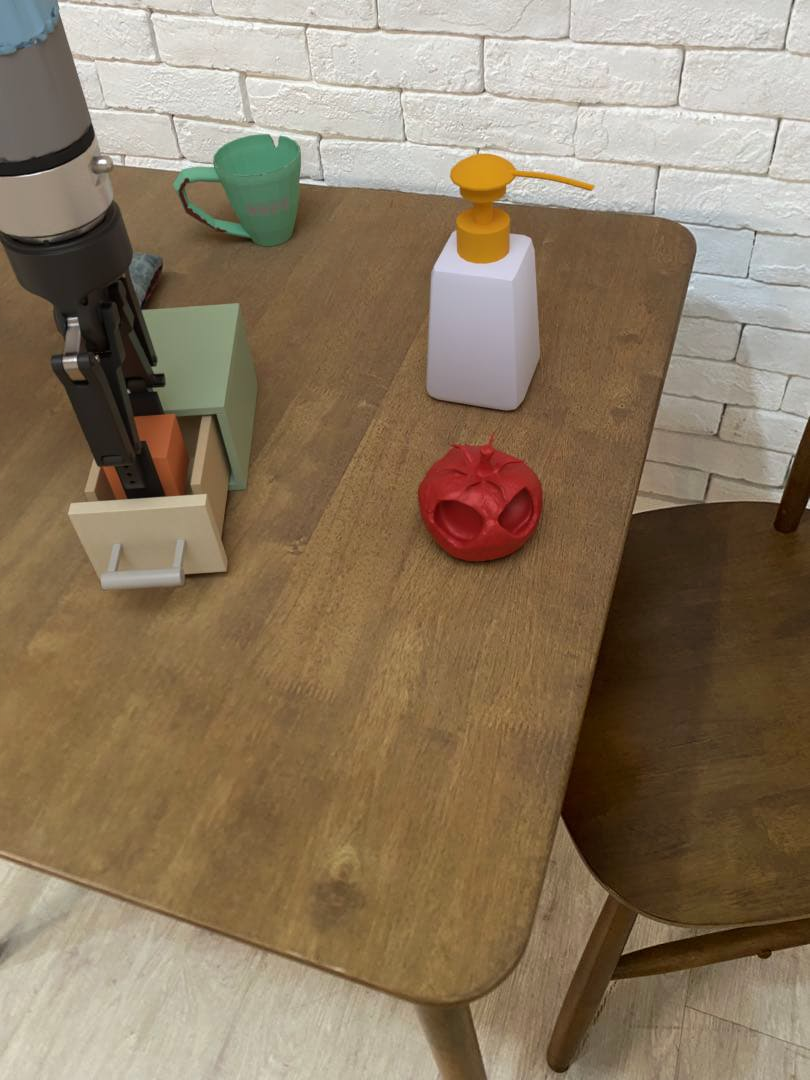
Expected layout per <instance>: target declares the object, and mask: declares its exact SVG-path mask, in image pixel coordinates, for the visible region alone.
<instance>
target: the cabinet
mask: <svg viewBox="0 0 810 1080" xmlns="http://www.w3.org/2000/svg"><path fill="white" fill-rule="evenodd" d="M141 311H142V314H143V317H144V320H145V323H146V326H147V329H148V332H149V335H150V338H151V341H152V344H153V347H154V350H155V353H156V356H157V359H158V363H157V366H156V367H151V368H152V370H153V372H154V374H159V373H164V375H165V380H166V384H165V387H159V388H153V391H157V393H158V396H159V399H160V402H161V405H162V408H163V411H164V414H175V416H176V417H180V416H195V415H209V414H217V418H218V422H219V425H220V429H221V432H222V436H223V440H224V443H225V447H226V450H227V454H228V457H229V461H230V465H231V469H230V476H229V484H228V491H229V492H230V491H242V490H243V491H244V490H247V486H248V477H249V468H250V460H251V450H252V442H253V435H254V425H255V418H256V417H255V416H256V408H257V399H258V390H259V383H258V377H257V374H256V369H255V365H254V360H253V355H252V352H251V351H252V350H251V348H250V343H249V338H248V335H247V334H248V333H247V330H246V326H245V321H244V317H243V312H242V309H241V304H240V303H239V302H235V303H233V302H232V303H221V304H219V303H218V304H207V305H206V304H205V305H193V306H181V307H167V308H166V307H165V308H152V309H144V310H141ZM127 392H128V393H130V391H129V390H127ZM228 491H227V492H228Z"/></svg>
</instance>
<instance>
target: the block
mask: <svg viewBox="0 0 810 1080" xmlns="http://www.w3.org/2000/svg"><path fill="white" fill-rule="evenodd" d="M134 419H135V423H136V427H137V431H138V435H139V439H140V441H146V443H147V445H148V448H149V451H150V454H151V456H152V459H153V462H154V465H155V468H156V470H157V473H158V476H159V479H160V481H161V484H162V487H163V490H164V492H165V495H166V497H169V496H183V494H184V489H185V483H186V478H187V472H188V466H189V461H190V459H189V456H188V453H187V450H186V447H185V444H184V441H183V438H182V434H181V431H180V428H179V425H178V422H177V419H176V416H175V414H165V415H151V416H136V417H134ZM103 469H104V471H105V473H106V476H107V478H108V481H109V483H110V485H111V488H112V490H113V493H114V495H115V497H116V500H124V499H127V496H126V494H125V491H124V489H123V487H122V484H121V482H120V479H119V477H118V474H117V472H116V469H115V467H114V466H109V467H103Z"/></svg>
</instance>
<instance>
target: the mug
mask: <svg viewBox="0 0 810 1080" xmlns="http://www.w3.org/2000/svg"><path fill="white" fill-rule="evenodd" d="M212 164H213V165H212V166H193V167H192V166H191V167H187V168H182V169H181V170H180V172H179V174H178V176H177V177H176V179H175V180H174V182H173V185H172V186H173V188H174V190H175V192H176V194H177V197H178V199H179V201H180V203H181V206H182V208H183V211H184V213H185V214H187V215H188V216H190V217H191V218H193V219H195V220H196V221H198V222H200V223H201V224H203V225H204V226H205V227H207V228H208V229H210V230H212V231H214V232H215V233H220V234H225V235H231V236H236V237H241V238H246V239H251V240H252V242H253V243H254V244H256V245H258V246H262V247H275V246H279V245H282V244H285V243H286V242H287V241H289V240H290V239H291V237H292V236H293V233H294V228H295V223H296V220H297V214H298V207H299V201H300V181H301V172H302V171H301V169H302V150H301V146H300V145H299V143H298V142H297V141H296V140H294V139H292V138H291V137H288V136H286V135H279V136H278V139H277V146H276V144H275V143H274V139H273V137H272V136H271V135H270V133H259V134H250V135H246V136H243V137H238V138H236V139H234V140H231V141H228V142H226V143H225V144H224V145H222V146H220V147H219V148H218V149H217V150H216V152H215V153H214V154H213V158H212ZM197 182H205V183H219V184H221V186H222V187H223V190H224V192H225V195H226V197H227V199H228V202H229V205H230V206H231V209H232V211H234V213H235V215H236V217H237V219H238V220H239V222H240V223H238V222H232V221H227V220H222V219H217V218H214V217H213V216H211V215H210V214H209V213H207V212H205V210H203V209H201V208H200V207H199V206H197V205H195V204H194V203H193V202H191V200H189V198H188V195H187V190H186V186H187V185H189V184H193V183H197Z"/></svg>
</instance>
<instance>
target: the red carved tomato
mask: <svg viewBox="0 0 810 1080" xmlns="http://www.w3.org/2000/svg"><path fill="white" fill-rule="evenodd" d="M494 436H495V430H492V434H491V435H490V438H489V442H488V444H487V443H486V444H483V445H471V444H465V445H463V444H453V443H449V442H446V444H447V445H449V446H451V447H452V448H450V449H449V450H448V451H447V452H446V453H445V454H444V456H442V457H441V458H440V459H438V460H437V461H435V462H434V463H432V465H431V466H430V467H429V469H428V470H427V471H426V473H425V475H424V477H423V479H422V481H421V482H420V483H419V485H418V488H417V501H418V506H419V510H420V517H421V520H422V522H423V525H424V527H425V528H426V530H427V531H428V532H427V533H429V535H430V536H431V538H432V539H433V540H434V541H435V542H436V544H437V545H438V546H439V547H440V548H442V549H443V550H444V551H445V552H446V553H447V554H449V556H452V557H454V558H456V559H458V560H464V561H466V562H485V561H493V560H497V559H500V558H504V557H507V556H509V555H510V554H513V553H514V552H516V551H517V550H518V549H520V548H521V547H522V546H524V544H526V542H527V541H528V540H529V539H530V538H531V537H532V536H533V534H534V533H535V531H536V530H537V527H538V525H539V522H540V518H541V515H542V513H543V507H544V497H543V495H544V493H543V487H542V486H543V485H542V483H541V481H540V479H539V477H538V475H537V473H536V472H535V471H534V470H533V469H532V468H531V467H530V466H529V465H527V464H526V463H525V462H526V458H525V459H519V458H517V457H515V456H513V455H511V454H509V453H507V452H505V451H501V450H500V449H499V450H498V449H495V447H494V446H492V444H493V442H494Z"/></svg>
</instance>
